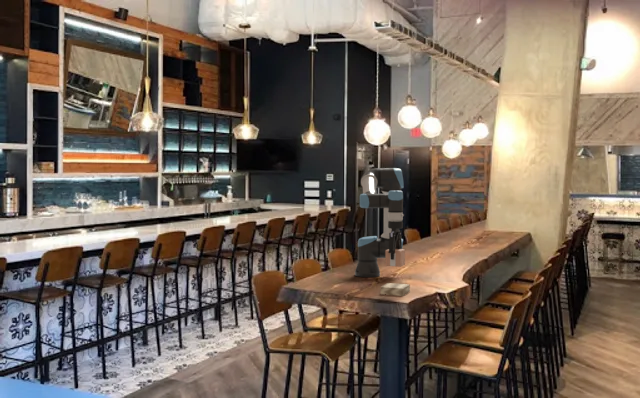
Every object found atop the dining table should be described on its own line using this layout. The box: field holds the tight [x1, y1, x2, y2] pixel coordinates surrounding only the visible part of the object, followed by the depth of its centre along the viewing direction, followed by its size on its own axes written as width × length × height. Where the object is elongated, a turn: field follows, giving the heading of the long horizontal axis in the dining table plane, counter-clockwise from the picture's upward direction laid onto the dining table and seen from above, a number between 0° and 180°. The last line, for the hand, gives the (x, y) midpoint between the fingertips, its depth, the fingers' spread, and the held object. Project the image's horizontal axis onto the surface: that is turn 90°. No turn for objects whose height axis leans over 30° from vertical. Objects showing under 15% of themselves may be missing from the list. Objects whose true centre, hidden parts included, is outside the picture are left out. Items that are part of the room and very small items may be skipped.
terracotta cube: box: [385, 248, 406, 268], centre depth 323 cm, size 8×8×8 cm
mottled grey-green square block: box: [380, 282, 411, 297], centre depth 324 cm, size 12×12×4 cm
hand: (395, 264), depth 323 cm, fingers closed on terracotta cube, 8 cm apart
